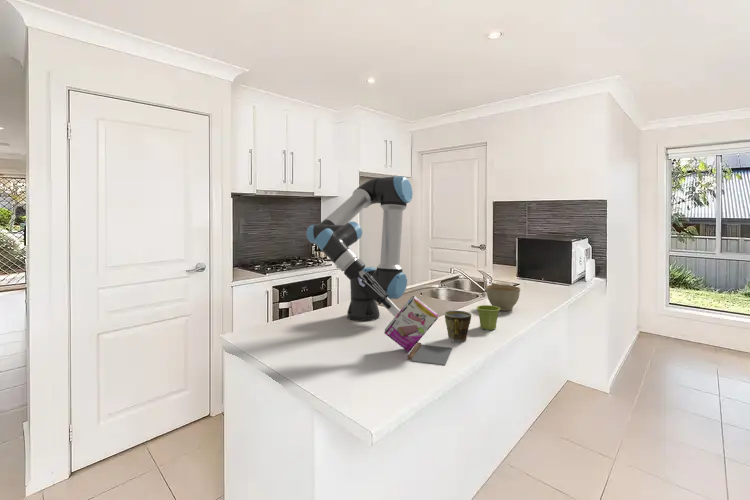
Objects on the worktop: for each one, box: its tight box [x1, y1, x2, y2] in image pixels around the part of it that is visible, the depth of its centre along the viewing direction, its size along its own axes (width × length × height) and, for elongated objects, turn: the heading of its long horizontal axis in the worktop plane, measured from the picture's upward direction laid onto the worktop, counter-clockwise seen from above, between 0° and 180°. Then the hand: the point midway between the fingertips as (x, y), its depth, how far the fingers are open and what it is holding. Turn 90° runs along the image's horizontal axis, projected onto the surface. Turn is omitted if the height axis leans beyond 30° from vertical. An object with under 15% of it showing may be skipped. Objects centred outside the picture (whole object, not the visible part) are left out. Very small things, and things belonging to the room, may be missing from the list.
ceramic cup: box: [444, 310, 472, 343], centre depth 142 cm, size 13×10×10 cm
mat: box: [410, 343, 453, 366], centre depth 129 cm, size 11×16×1 cm
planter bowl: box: [485, 284, 521, 312], centre depth 189 cm, size 16×16×11 cm
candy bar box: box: [384, 294, 439, 353], centre depth 132 cm, size 11×5×16 cm
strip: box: [407, 341, 422, 361], centre depth 131 cm, size 2×14×1 cm, turn 160°
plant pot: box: [476, 304, 501, 331], centre depth 158 cm, size 9×9×9 cm
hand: (397, 313), depth 131 cm, fingers closed
